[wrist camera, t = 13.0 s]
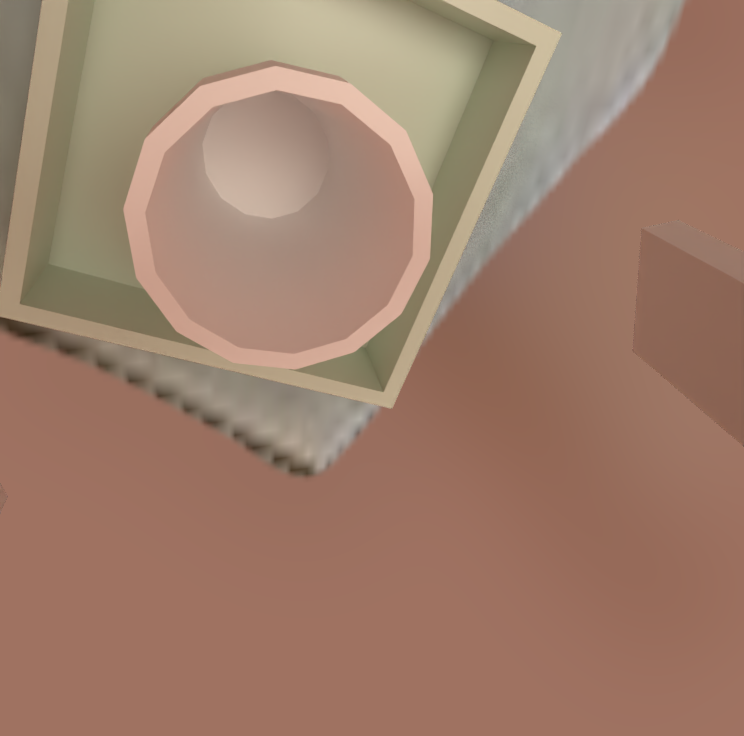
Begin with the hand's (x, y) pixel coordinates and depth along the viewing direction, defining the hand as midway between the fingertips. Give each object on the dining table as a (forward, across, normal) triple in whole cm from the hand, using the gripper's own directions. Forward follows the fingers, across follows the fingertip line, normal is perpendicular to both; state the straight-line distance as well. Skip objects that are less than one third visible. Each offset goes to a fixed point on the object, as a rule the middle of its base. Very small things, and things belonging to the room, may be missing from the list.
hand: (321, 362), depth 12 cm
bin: (+23, 0, 0) cm, 23 cm away
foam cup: (+22, 0, 0) cm, 22 cm away
